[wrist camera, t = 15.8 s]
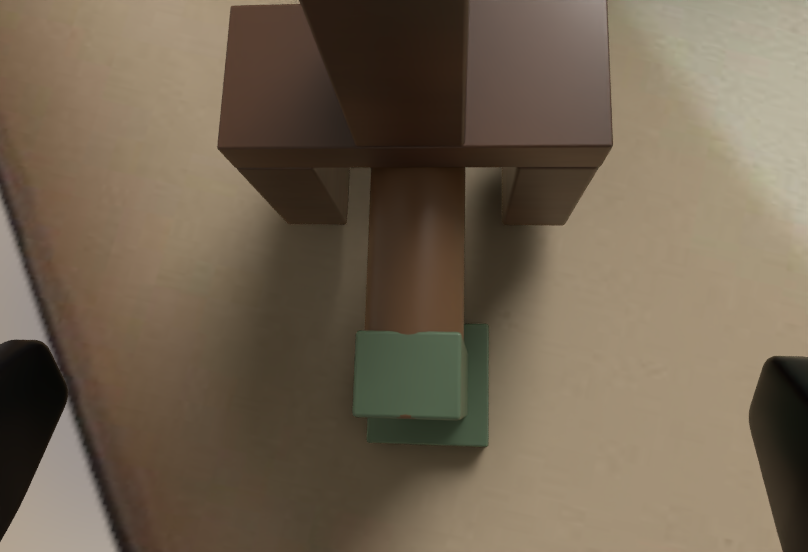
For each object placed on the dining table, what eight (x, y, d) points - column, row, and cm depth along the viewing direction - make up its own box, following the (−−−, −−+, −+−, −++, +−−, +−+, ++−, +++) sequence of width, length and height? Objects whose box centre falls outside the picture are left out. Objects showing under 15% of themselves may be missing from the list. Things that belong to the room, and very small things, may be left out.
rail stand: (488, 445, 16) (489, 462, 11) (371, 440, 16) (322, 455, 11) (488, -39, 19) (489, -196, 14) (389, -33, 19) (356, -185, 14)
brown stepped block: (562, 117, 16) (700, -259, 7) (565, 226, 16) (720, -28, 7) (295, 119, 17) (101, -223, 8) (287, 224, 16) (68, -9, 7)
